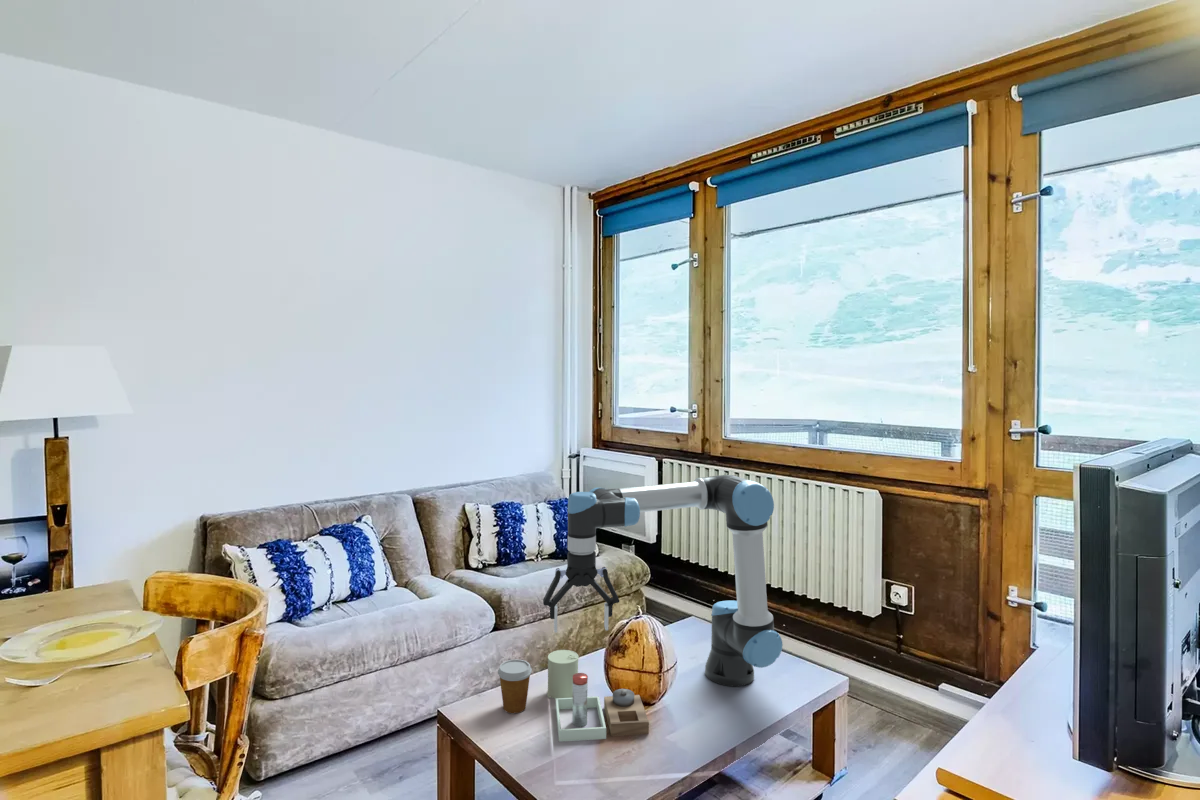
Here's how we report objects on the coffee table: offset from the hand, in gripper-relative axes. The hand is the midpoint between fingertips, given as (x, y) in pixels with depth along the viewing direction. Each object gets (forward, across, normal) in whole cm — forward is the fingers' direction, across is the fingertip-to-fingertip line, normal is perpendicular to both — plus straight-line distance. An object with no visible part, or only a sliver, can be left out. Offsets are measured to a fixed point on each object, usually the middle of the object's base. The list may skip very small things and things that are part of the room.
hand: (581, 629), depth 173 cm
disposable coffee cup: (+27, +18, -11) cm, 34 cm away
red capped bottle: (+26, 0, 0) cm, 26 cm away
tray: (+26, 0, 0) cm, 26 cm away
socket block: (+26, -12, 0) cm, 29 cm away
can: (+27, +4, -17) cm, 32 cm away
